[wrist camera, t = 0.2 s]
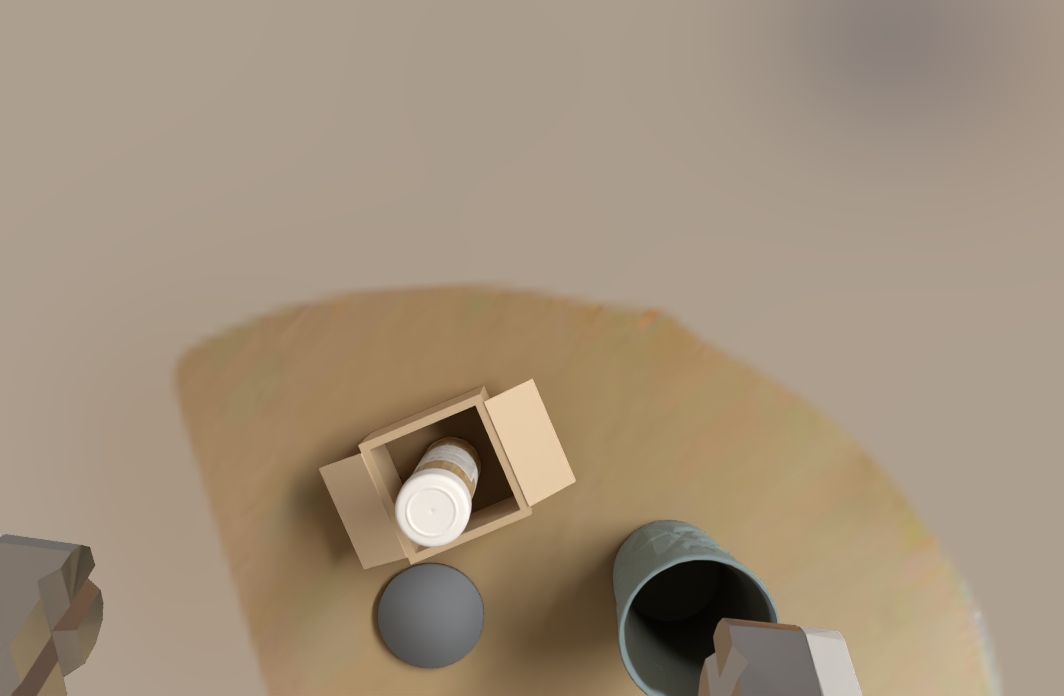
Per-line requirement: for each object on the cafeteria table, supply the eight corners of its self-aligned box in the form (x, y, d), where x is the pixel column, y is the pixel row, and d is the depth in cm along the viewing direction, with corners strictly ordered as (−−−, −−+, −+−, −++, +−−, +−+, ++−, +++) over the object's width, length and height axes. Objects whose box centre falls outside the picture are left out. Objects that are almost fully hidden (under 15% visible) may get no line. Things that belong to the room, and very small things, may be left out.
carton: (576, 477, 66) (580, 494, 61) (375, 561, 66) (362, 585, 61) (529, 366, 65) (528, 373, 60) (326, 451, 66) (309, 465, 60)
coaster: (500, 640, 67) (499, 644, 66) (404, 680, 67) (403, 684, 66) (458, 546, 66) (458, 549, 65) (362, 586, 66) (360, 589, 66)
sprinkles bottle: (454, 506, 66) (435, 564, 52) (408, 467, 66) (377, 515, 52) (494, 461, 66) (485, 508, 52) (448, 422, 65) (427, 458, 52)
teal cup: (587, 616, 67) (600, 690, 55) (623, 491, 66) (643, 538, 54) (715, 650, 67) (755, 730, 55) (751, 525, 66) (800, 579, 54)
